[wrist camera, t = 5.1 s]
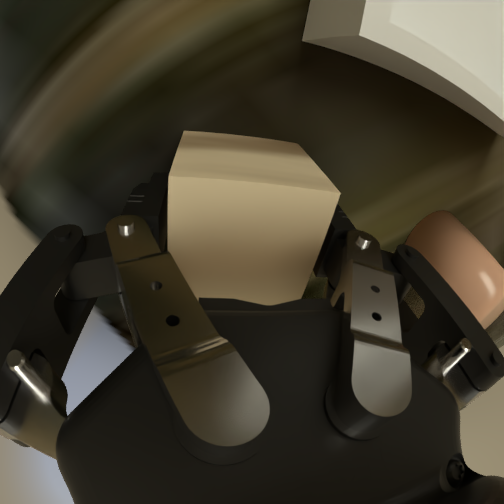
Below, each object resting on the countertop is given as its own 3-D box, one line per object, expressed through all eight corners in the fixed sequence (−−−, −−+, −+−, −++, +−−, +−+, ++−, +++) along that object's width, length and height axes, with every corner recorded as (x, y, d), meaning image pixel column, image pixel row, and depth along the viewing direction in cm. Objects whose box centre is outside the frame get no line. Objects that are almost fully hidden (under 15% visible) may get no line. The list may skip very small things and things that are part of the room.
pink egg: (423, 205, 15) (493, 283, 10) (465, 215, 16) (525, 280, 11) (392, 267, 18) (441, 348, 13) (436, 268, 19) (482, 335, 14)
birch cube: (184, 130, 11) (168, 175, 7) (297, 143, 12) (340, 193, 8) (178, 227, 14) (170, 302, 10) (274, 233, 15) (298, 305, 11)
